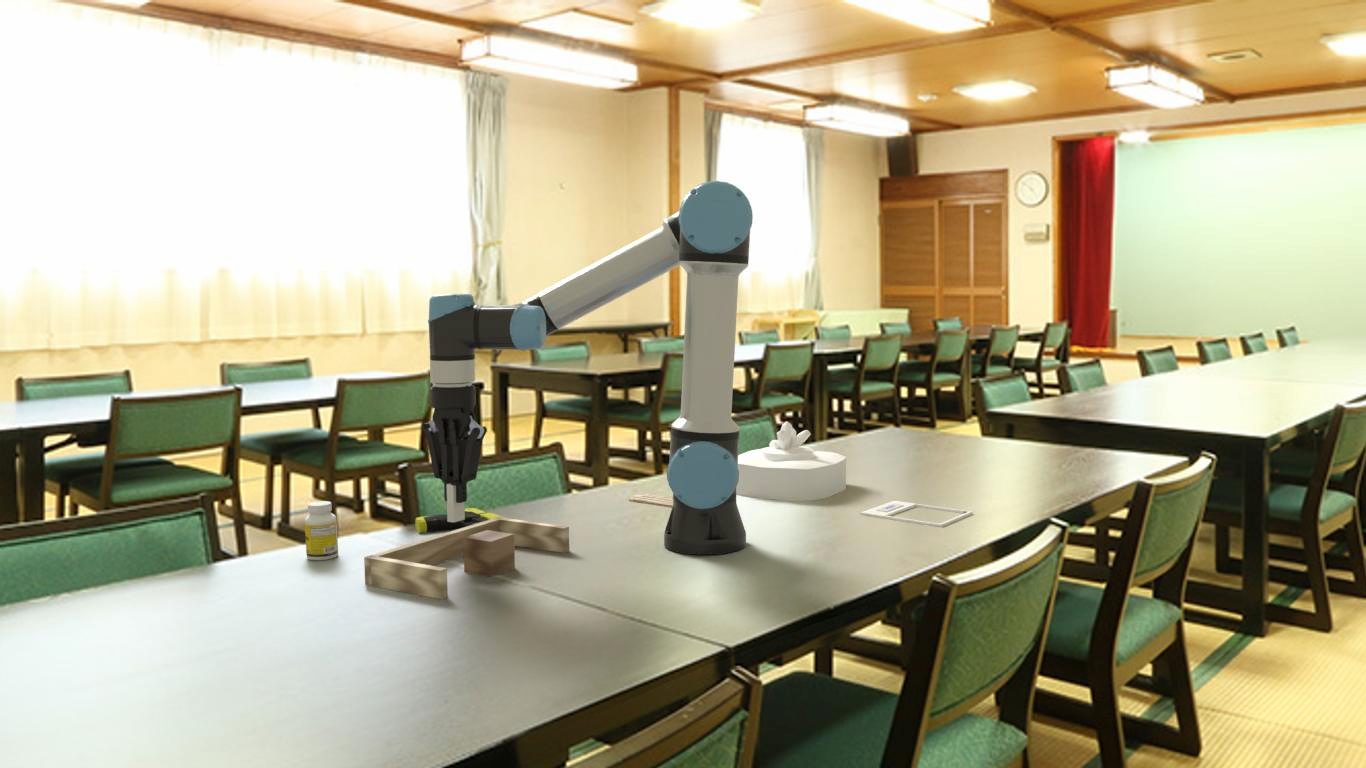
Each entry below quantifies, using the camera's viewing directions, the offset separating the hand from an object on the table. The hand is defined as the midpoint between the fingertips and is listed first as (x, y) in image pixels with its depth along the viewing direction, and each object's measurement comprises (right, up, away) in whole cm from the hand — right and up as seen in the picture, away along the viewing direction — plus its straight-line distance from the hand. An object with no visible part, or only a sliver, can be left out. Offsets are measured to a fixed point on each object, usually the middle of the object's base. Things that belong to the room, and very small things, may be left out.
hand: (456, 520), depth 181 cm
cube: (+6, -8, -3) cm, 11 cm away
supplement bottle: (-25, -8, +7) cm, 27 cm away
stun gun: (-4, -6, +25) cm, 26 cm away
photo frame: (+87, -4, +36) cm, 95 cm away
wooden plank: (+39, -4, +48) cm, 62 cm away
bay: (+3, -8, -1) cm, 8 cm away
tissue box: (+63, -1, +65) cm, 91 cm away
